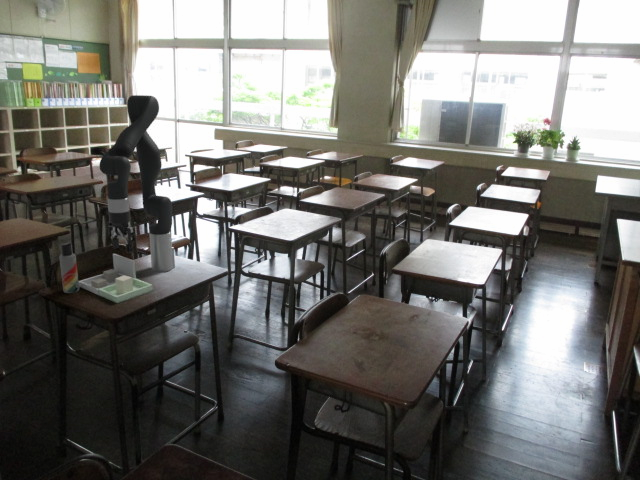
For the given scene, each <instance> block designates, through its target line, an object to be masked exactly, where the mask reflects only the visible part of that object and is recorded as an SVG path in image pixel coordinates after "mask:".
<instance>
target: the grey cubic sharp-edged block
mask: <svg viewBox="0 0 640 480" xmlns="http://www.w3.org/2000/svg"><path fill="white" fill-rule="evenodd" d="M102 272H103V273H102V274H103V275H104V279H105V280H107V282H109V283H111V282H114V281H115V279H116V278H118V271H116V270H114V268H110V269H108V270H104V271H102Z"/></svg>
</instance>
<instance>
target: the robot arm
mask: <svg viewBox="0 0 640 480" xmlns="http://www.w3.org/2000/svg"><path fill="white" fill-rule="evenodd" d="M126 105H127V106H126V107H127V113H128V117H129V121H130V124H129V125H127V127H125V128H124V129H123V130H122V131H121V132H120V133H119V135H118V137H117V139H116V141H115V142H114V145H113V146H111V148H109V149H108V150H107V151H106V152H105V153H104V155H102V157H101V158H100V160H99V161H100V162H99V169H100V172H101V173H102V174H104V175H106V176H107V175H108V176H117V178H116V180H113V181H110V182H108V183H107V184H106V190H107V191H106V192H107V208H108V220H109V221H107V222H106V223H107V224H106V225H107V237H110V239H111V241H112V242H111V243H112V248H113V249H114V250H115V249H119V248H120V242H119V241H120V240H119V237H121V239H122V240H124V242H125V252H126V254H132V253H133V250H134V249H133V243H136V242H137V239H136V231H135V227H134V226H129V224H130V222H131V220H132V218H131V209H130V208H131V207H130V201H129V193H128V192H129V191H128V185H129V178H130V174H131V168H132V167H131V166H132V165H131V162H130V160H129V158H131V157H132V155H133V153H135V150H136V157H137V163H138V164H137V165H138V169H139V176H140V181H141V183H140V184H141V194H142V195H141V196H142V207H143V211H144V213H145V214H146V216H149V217H155V218H157V222H155V223H153V224H151V225H149V227H148V232H149V234H148V235H149V250H150V261H151V262H150V263H151V269H152V271H153V272H159V273H160V272H161V273H165V272H170V271H172V270H173V269H174V268H176V263H175V262H176V260H175V259H176V258H175V247H174V246H173V243H172V241H173V239H172V227H173V226H172V225H173V203H172V201H171V199H170V197H168V196H162V195H157V193H156V186H155V185H156V181H157V179H158V176H159V174H160V173H161V170H162V158H161V151H160V148H159V146H158V144H157V143H156V142H155V141H154V140H153V138H152V137H151V136H150V134H149V133H148V131H147V130H148V129H149V128H150V126H151V125H152V124H153V122H154V121H155V120H156V118H157V117H158V115H159V112H160V105H159V101H158V99H157V98H156V97H155V96H153V95H143V94H142V95H137V94H136V95H135V94H133V95H130V96H129V97H128V99H127V103H126Z"/></svg>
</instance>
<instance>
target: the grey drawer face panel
mask: <svg viewBox="0 0 640 480" xmlns="http://www.w3.org/2000/svg"><path fill="white" fill-rule="evenodd" d="M112 262H113V263H112V265H113V270H116V271H118V273H121V274H123V275H126V276H129V277H132V278H136V279H137V275H136V274H137V273H136V265H135V264H136V263H135V260H134V259H131V258H128V257H125V256H122V255H120V254H117V253H112Z"/></svg>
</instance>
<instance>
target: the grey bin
mask: <svg viewBox="0 0 640 480" xmlns="http://www.w3.org/2000/svg"><path fill="white" fill-rule="evenodd" d="M121 276H124V275H123V274H121V273H118V277H121ZM125 276H126V275H125ZM98 278H102V279H104V275H103V273H102V274H98V275H94V276H91V277H88V278H84V279H81V280H78V281H79V288H82V289H84V290H86V291H88V292H91V293H93V294H95V295H97V296H99V291H98V288H96V287H94V286H92V284H91V281H92V280H95V279H98ZM113 284H116V283H115V281H114V282H111V283H109V282H107V286H110V285H113ZM107 286H105V287H107ZM102 288H104V287H102ZM99 289H101V288H99Z"/></svg>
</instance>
